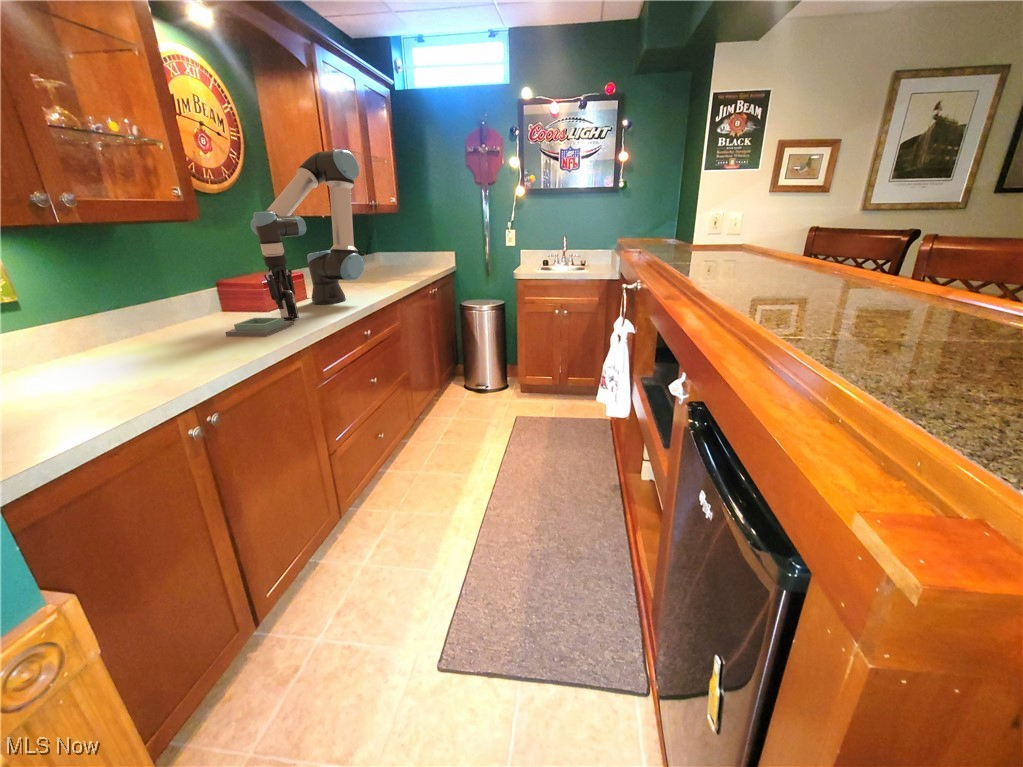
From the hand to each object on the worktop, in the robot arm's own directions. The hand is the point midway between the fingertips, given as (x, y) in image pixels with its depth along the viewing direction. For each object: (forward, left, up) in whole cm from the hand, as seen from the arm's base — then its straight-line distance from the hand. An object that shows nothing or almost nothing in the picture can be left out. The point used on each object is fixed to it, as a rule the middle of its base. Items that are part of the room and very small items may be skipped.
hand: (288, 315), depth 175 cm
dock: (+15, -1, -2) cm, 15 cm away
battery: (0, 0, -2) cm, 2 cm away
